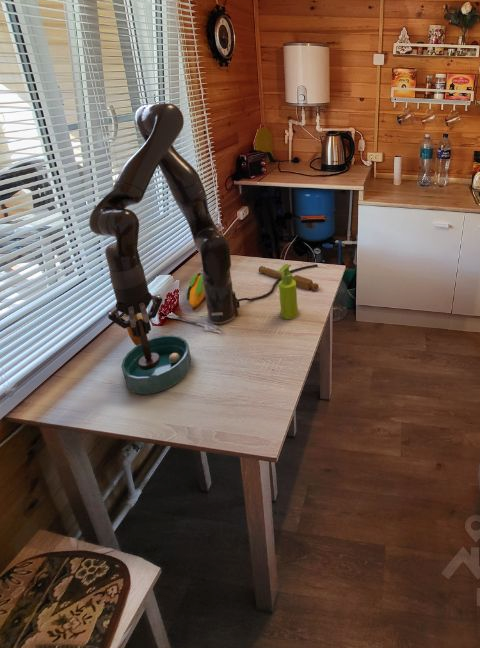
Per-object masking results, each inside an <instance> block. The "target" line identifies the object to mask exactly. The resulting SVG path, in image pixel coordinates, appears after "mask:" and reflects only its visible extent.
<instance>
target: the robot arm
mask: <svg viewBox="0 0 480 648" xmlns="http://www.w3.org/2000/svg"><path fill="white" fill-rule="evenodd" d="M135 123H136V126H137V129H138V131H139V133H140V135H141V137H142V139H143V140H144V144H143V145H142V146H141V147H140V148H139V150H137V151H136V152H135V153H134V154H133V155H132V156H131V157H130V158H129V159H128V160H127V161H126V163H125V164H124V165H123V167H122V168H121V169H120V171H119V173H118V175H117V178H116V179H115V182H114V184H113V186H112V188H111V189H110V190H109V191H108V192H107V193H106V194H105V196H104V197H103V198H102V199H101V200H100V201H99V202H98V203H97V205H96V206H95V207H93V210H92V211H91V213H90V215H89V219H88V225H89V229H90V231H91V232H93V234H95V235H97V236H102V237H103V236H105V237H114V238H115V240H116V241H115V242H111V243H110V244H109V245H107V246H106V248H105V250H104V254H105V259H106V263H107V266H108V270H109V278H110V283H111V286H112V289H113V292H114V296H115V300H116V303H115V307H114V308H113V309H112V310H107V312H106V315H107V318H108V320H110V321H112V322H113V323H115V324H116V325H117V326H118V327H121V328H122V329H127V327H130V328H131V331H132V334H133V336H134V337H135V336H136V337H137V338H138V337H140V336H139V332H138V328H137V325H136V322H135V315H136V314H137V315H138V314H140V315H141V317H142V318H143V323H144V327H145V331H146V334H147V335H148V334H150V331H152V326H151V322H150V321H151V319H155V318H156V317H157V315H158V312H159V308H160V307H161V305H162V303H163V298H162V296H161V295H160V294H156V295H153V294H152V293H151V292H150V291H149V286H148V282H147V278H146V274H145V270H144V267H143V264H142V261H141V258H140V254H139V249H138V244H139V234H140V220H139V218H138V216H137V214H136V213H135V212H134V211H133V210H131V209H128V207H129V206H134V205H137V204H140V203H141V201H143V198H144V197H145V193H146V192H147V190H148V187H149V185H150V182H151V180H152V178H153V176H154V174H155V172H156V170H157V168H158V167H159V169H160V171H161V173H162V175H163V177H164V179H165V181H166V184H167V187H168V189H169V191H170V193H171V196H172V198H173V199H174V201H175V203H176V205H177V207H178V209H179V210H180V212H181V214H182V215H183V217H184V219H185V220H186V222H187V225H188V227H189V230H190V233H191V237H192V240H193V243H194V247H195V249H196V250H197V252H198V253H199V254H200V258H201V265H202V268H201V271H200V273H201V274H202V280H203V286H204V293H205V296H204V300H205V305H206V312H207V318H208V323H212V324H214V325H224V324H227V323H230V322H231V321H233V320H235V318H236V317H237V316H239V313H238V308H241V305H240V304H241V303H240V302H242V301H249V302H251V301H257V300H260V299H264V298H265V297H267V296H270V294H272V293H273V291H274V290H275V288H276V286H277V284H279V282H280V281H281V279H280V278H277V279H276V281H275V282H274V283H273V285H272V288H271V289H270V291H268V292H267V293H265V294H263V295H260V296H256V297H252V298H249V297H243V298H237V296H236V292H235V291H234V290H233V289H234V288H233V282H232V274H231V268H232V259H231V256H232V255H231V247H230V243H229V241H228V239H227V238H226V237H225V235H223V234H222V232H221V231H220V230H219V228H218V227H217V225H216V224H215V222H214V220H213V218H212V216H211V213H210V211H209V203H208V197H207V196H208V195H207V192H206V190H205V187H204V184H203V182H202V179H201V177H200V175H199V173H198V171H197V170H196V169H195V168H194V167H193V166H192V165H191V163H189V162H188V161H187V160H186V159H185V158H184V157H183V156H182V155H181V154H180V153H179V152H178V151H177V149H176V148H175V146H174V143H175V141H176V140H177V139H178V137H179V135H180V134H181V132H182V130H183V128H184V124H185V119H184V115H183V112H182V111H181V109H180V107H178V106H177V105H175V104H173V103H168V102H164V103H163V102H161V103H154V104H147V105H142V106H140V107H139V108H138V109H137V110H136V112H135ZM315 267H318V264H312V265H305V266H301V267H298V268H294V269H291V270H289V272H290V273H293V272H297V271H299V270H304V269H309V268H315ZM151 302H152V304H151ZM150 304H151V307H150V309H149V311H147V309H148V307H149V305H150ZM119 312H120V313H122V314H123V315H124V314H126V315H128V317H127V319H124V318H123V317H122V316H120V313H119ZM128 320H129V321H128Z"/></svg>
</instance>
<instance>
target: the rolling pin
mask: <svg viewBox="0 0 480 648" xmlns="http://www.w3.org/2000/svg"><path fill="white" fill-rule="evenodd" d="M258 272H259V273H261V274H264V275H267V276H270V277H274V278H277V279H279V278H280V280H282V274H283V273H279V272H278V270H275V269H272V268H269V267H266V266H263V265H261V266H259V267H258ZM292 279H293V280H295V281H296V288H300V289H302V290H307V291H309V290H311V289H312V290H313V291H317V290H318V289H319V283H316V282H315V283H314V282H313V280H312V279H311V278H307V277H304V276H301V275H297V274H296V275H292Z"/></svg>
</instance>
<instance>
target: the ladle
mask: <svg viewBox="0 0 480 648" xmlns="http://www.w3.org/2000/svg"><path fill="white" fill-rule="evenodd" d="M136 325H137V328H138V332H139V336H140V337H139V338H140V342H141V346H142V350H143V354H144V356H142V357H141V358H140V360H139V362H138V363H139V367H140V369H142V370H150V369H152V368H154V367H156V366H157V365H158V364H159V362H160V358H159V355H158V354H157V353H151V351H150V347H149V343H148V340H149V339H148V334H146V331H145V327H144V323H143V320H142V319H140V318H139V319H137V320H136Z"/></svg>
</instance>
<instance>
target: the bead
mask: <svg viewBox="0 0 480 648" xmlns="http://www.w3.org/2000/svg"><path fill="white" fill-rule="evenodd" d="M179 359H180V355H179V354H178V353H172V354H171V355H170V356H169V361H170V362H171V363H176V362H178V361H179Z"/></svg>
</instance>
